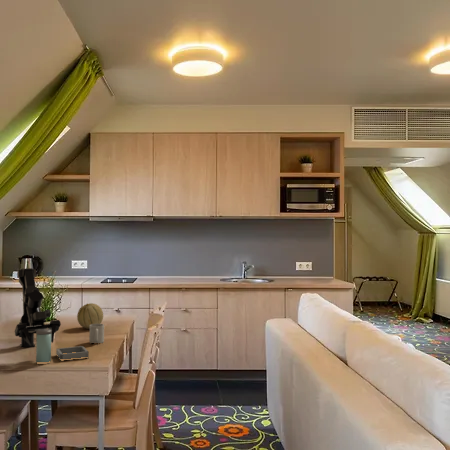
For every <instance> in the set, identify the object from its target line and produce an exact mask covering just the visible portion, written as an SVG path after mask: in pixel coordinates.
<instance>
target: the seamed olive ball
mask: <svg viewBox="0 0 450 450" xmlns="http://www.w3.org/2000/svg"><path fill="white" fill-rule="evenodd" d="M103 318H104V311H103V309H102V307H101V306H100V305H98V304H96V303H92V302H89V303H86V304H84V305H82V306H81V307H80V308H79V309H78V311H77V315H76V319H77V322H78V325H80V326H81V327H82V328H84V329H87V330H90V325H91V324H102V322H103V320H104V319H103Z"/></svg>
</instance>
